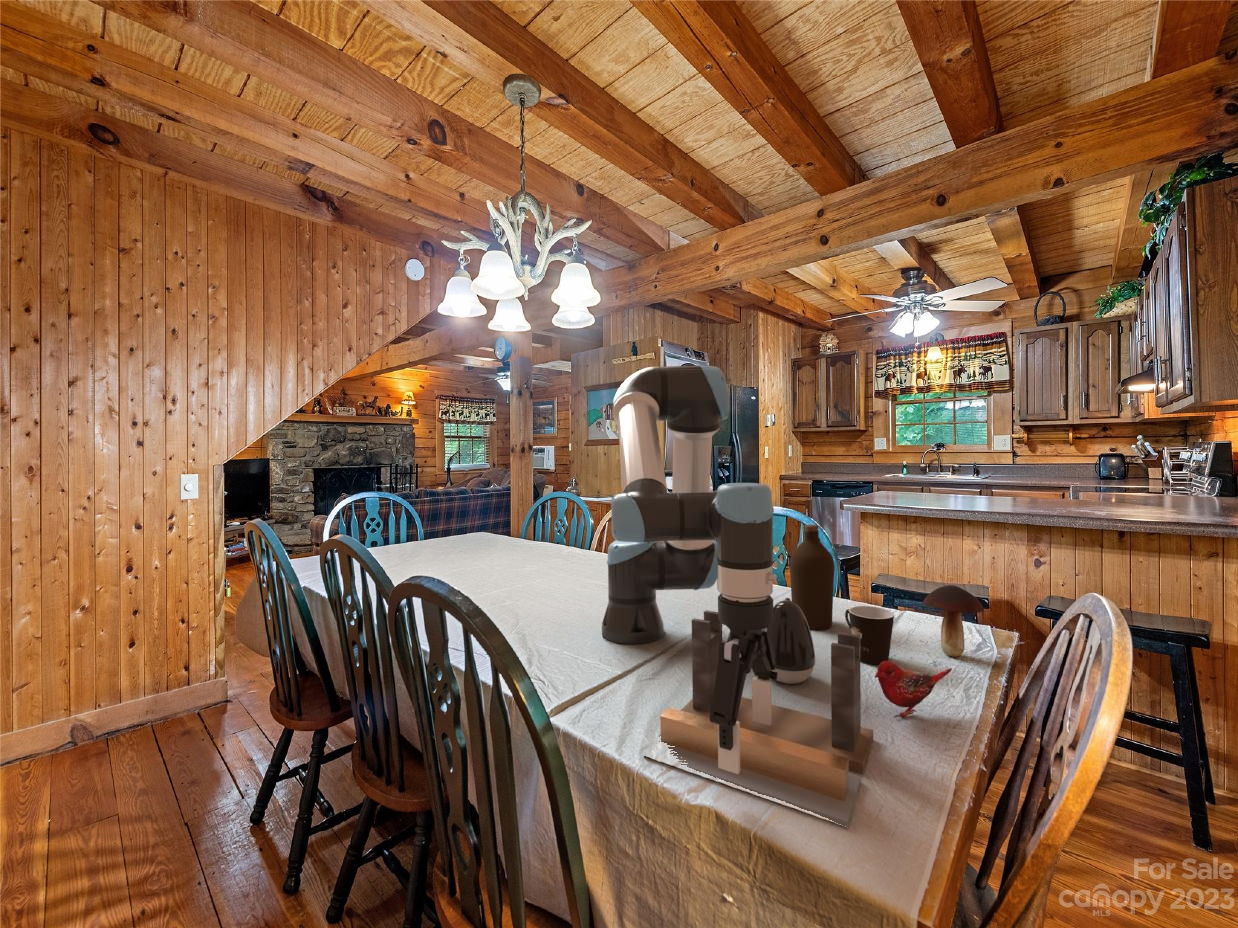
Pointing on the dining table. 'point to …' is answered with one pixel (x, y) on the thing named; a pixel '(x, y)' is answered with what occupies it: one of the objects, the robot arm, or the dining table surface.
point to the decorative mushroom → (953, 615)
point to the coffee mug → (871, 632)
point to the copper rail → (762, 754)
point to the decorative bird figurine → (905, 685)
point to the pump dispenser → (791, 643)
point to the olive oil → (813, 579)
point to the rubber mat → (778, 787)
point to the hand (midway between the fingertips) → (746, 744)
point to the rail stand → (787, 724)
